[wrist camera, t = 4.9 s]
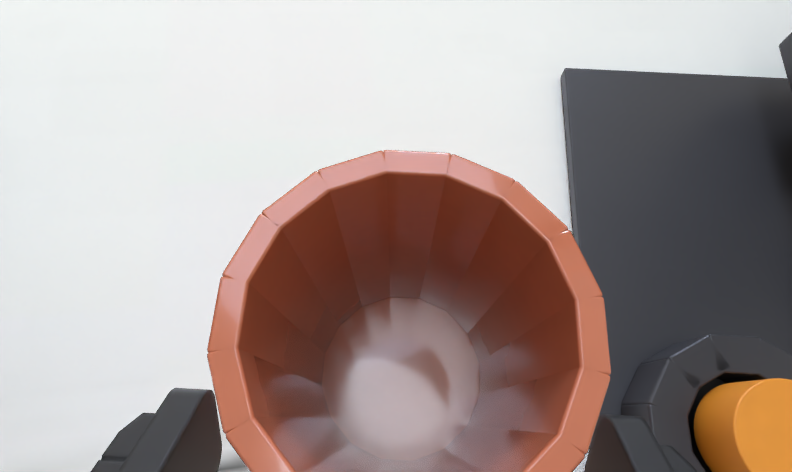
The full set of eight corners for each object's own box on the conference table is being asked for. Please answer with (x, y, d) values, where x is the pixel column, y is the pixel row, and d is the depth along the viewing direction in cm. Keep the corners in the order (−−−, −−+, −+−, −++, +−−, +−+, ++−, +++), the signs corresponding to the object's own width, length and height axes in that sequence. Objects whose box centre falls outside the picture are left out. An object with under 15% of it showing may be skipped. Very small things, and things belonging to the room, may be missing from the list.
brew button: (811, 499, 14) (872, 510, 13) (701, 492, 14) (746, 503, 13) (787, 385, 16) (839, 381, 14) (685, 380, 16) (724, 374, 14)
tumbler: (276, 369, 18) (131, 308, 8) (406, 257, 19) (419, 90, 9) (393, 518, 16) (394, 673, 6) (526, 383, 18) (692, 339, 8)
